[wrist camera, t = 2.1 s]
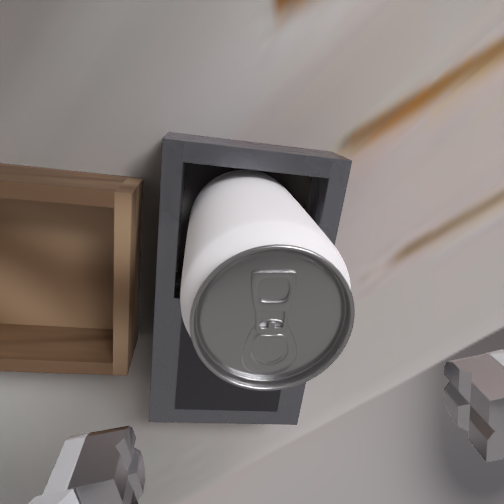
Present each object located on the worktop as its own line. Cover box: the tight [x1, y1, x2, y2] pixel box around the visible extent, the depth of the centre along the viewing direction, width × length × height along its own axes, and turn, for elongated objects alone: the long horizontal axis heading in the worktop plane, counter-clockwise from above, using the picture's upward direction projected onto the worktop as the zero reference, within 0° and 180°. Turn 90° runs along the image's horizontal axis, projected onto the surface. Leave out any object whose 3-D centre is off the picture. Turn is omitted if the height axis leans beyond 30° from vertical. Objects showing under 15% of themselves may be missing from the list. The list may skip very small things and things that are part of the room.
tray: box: [149, 132, 352, 425], centre depth 24 cm, size 17×9×4 cm, turn 173°
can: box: [180, 170, 354, 391], centre depth 19 cm, size 6×6×12 cm
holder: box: [0, 164, 143, 375], centre depth 22 cm, size 11×11×4 cm
